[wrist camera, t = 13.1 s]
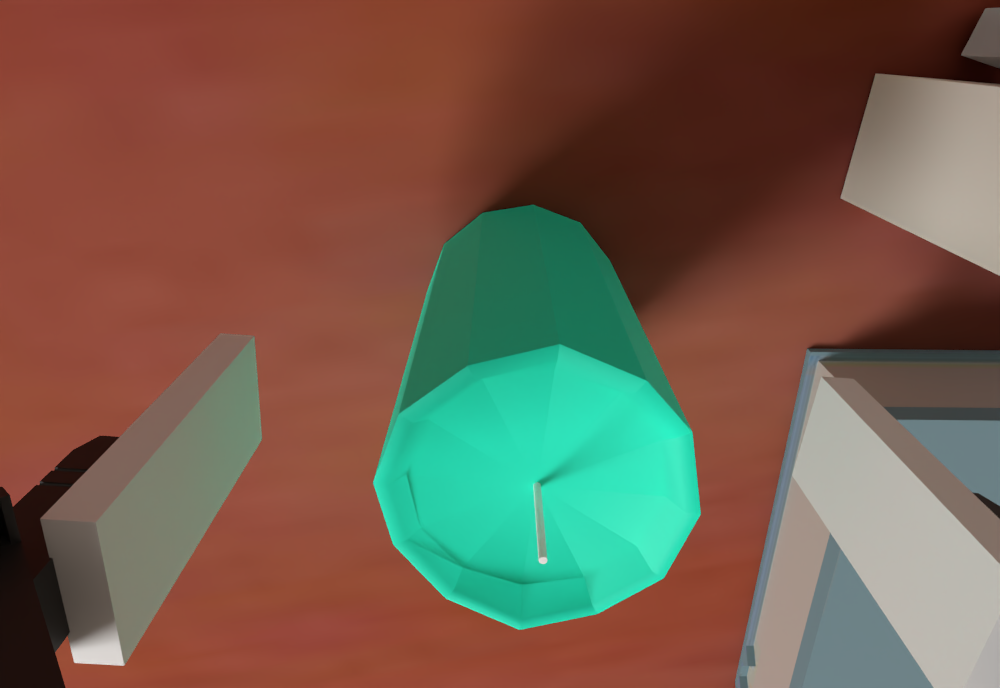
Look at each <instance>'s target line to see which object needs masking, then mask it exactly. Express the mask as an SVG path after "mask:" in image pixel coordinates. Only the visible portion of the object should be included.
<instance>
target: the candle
mask: <svg viewBox="0 0 1000 688" xmlns="http://www.w3.org/2000/svg"><path fill="white" fill-rule="evenodd" d="M373 484H374V487H375V490H376V493H377V496H378V499H379V502H380V505H381V509H382V512H383V515H384V518H385V521H386V524H387V527H388V530H389V533H390V536H391V539H392V542H393V545H394V546H395V547H396V548H397V549H398V550H399V551H400V552H401V553H402V554H403V555H404V556H405V557H406V558H407V559H408V560H409V561H410V562H411V563H412V564H413V565H414V566H415V568H416V569H417V570H418V571H419V572H420V573H421V574H422V575H423V576H424V577H425V578H426V579H427V580H428V581H429V582H430V583H431V584H432V585H433V586H434V587H435V588H436V589H437V590H438V591H439V592H440V593H441V594H442V595H443V596H444V597H445V598H446V599H448V600H450V601H453V602H455V603H457V604H460V605H462V606H465V607H467V608H469V609H472V610H474V611H476V612H479V613H481V614H483V615H486V616H488V617H490V618H493V619H495V620H497V621H500V622H502V623H505V624H507V625H509V626H512V627H514V628H516V629H519V630H521V629H526V628H531V627H536V626H541V625H546V624H551V623H556V622H561V621H566V620H571V619H575V618H580V617H585V616H590V615H595V614H598V613H600V612H602V611H604V610H606V609H608V608H609V607H611V606H613V605H615V604H617V603H619V602H620V601H622V600H624V599H626V598H628V597H630V596H632V595H633V594H635V593H637V592H639V591H641V590H643V589H645V588H646V587H648V586H650V585H652V584H654V583H656V582H658V581H659V580H661V579H663V578H664V577H665V575H666V573H667V572H668V570H669V568H670V566H671V565H672V563H673V561H674V560H675V558H676V556H677V554H678V553H679V551H680V549H681V547H682V546H683V544H684V542H685V541H686V539H687V537H688V535H689V534H690V532H691V530H692V528H693V527H694V525H695V523H696V521H697V520H698V518H699V516H700V515H701V511H700V501H699V491H698V482H697V472H696V462H695V453H694V443H693V433H692V430H691V428H690V426H689V424H688V422H687V420H686V418H685V416H684V414H683V412H682V410H681V407H680V405H679V403H678V401H677V399H676V397H675V395H674V393H673V391H672V389H671V387H670V385H669V382H668V380H667V378H666V376H665V374H664V372H663V370H662V368H661V366H660V364H659V362H658V360H657V357H656V355H655V353H654V351H653V349H652V347H651V345H650V343H649V341H648V339H647V337H646V334H645V332H644V330H643V328H642V326H641V324H640V322H639V320H638V318H637V316H636V314H635V312H634V309H633V307H632V305H631V303H630V301H629V299H628V297H627V295H626V293H625V291H624V289H623V287H622V284H621V282H620V280H619V278H618V276H617V274H616V272H615V270H614V268H613V266H612V264H611V262H610V260H609V259H608V257H607V256H606V255H605V253H604V252H603V251H602V250H601V248H600V247H599V246H598V244H597V243H596V242H595V241H594V239H593V238H592V237H591V235H590V234H589V233H588V232H587V230H586V229H585V228H584V226H583V225H582V224H581V223H580V222H578V221H575V220H572V219H570V218H567V217H564V216H562V215H559V214H557V213H554V212H551V211H549V210H546V209H544V208H541V207H538V206H536V205H528V206H522V207H515V208H509V209H503V210H496V211H490V212H484V213H482V214H480V215H479V216H478V217H477V218H476V219H474V220H473V221H472V222H471V223H469V224H468V225H467V226H466V227H464V228H463V229H462V230H461V231H459V232H458V233H457V234H456V235H455V236H453V237H452V238H451V239H450V240H448V241H447V242H446V243H445V244H444V246H443V248H442V251H441V254H440V257H439V260H438V262H437V265H436V268H435V271H434V273H433V276H432V279H431V282H430V285H429V287H428V291H427V294H426V298H425V301H424V305H423V308H422V312H421V315H420V319H419V322H418V326H417V330H416V333H415V337H414V340H413V344H412V347H411V351H410V354H409V358H408V361H407V365H406V368H405V372H404V375H403V379H402V383H401V386H400V390H399V393H398V397H397V400H396V404H395V407H394V411H393V414H392V418H391V421H390V425H389V428H388V432H387V436H386V439H385V443H384V446H383V450H382V453H381V457H380V460H379V464H378V467H377V471H376V474H375V478H374V481H373Z"/></svg>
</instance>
